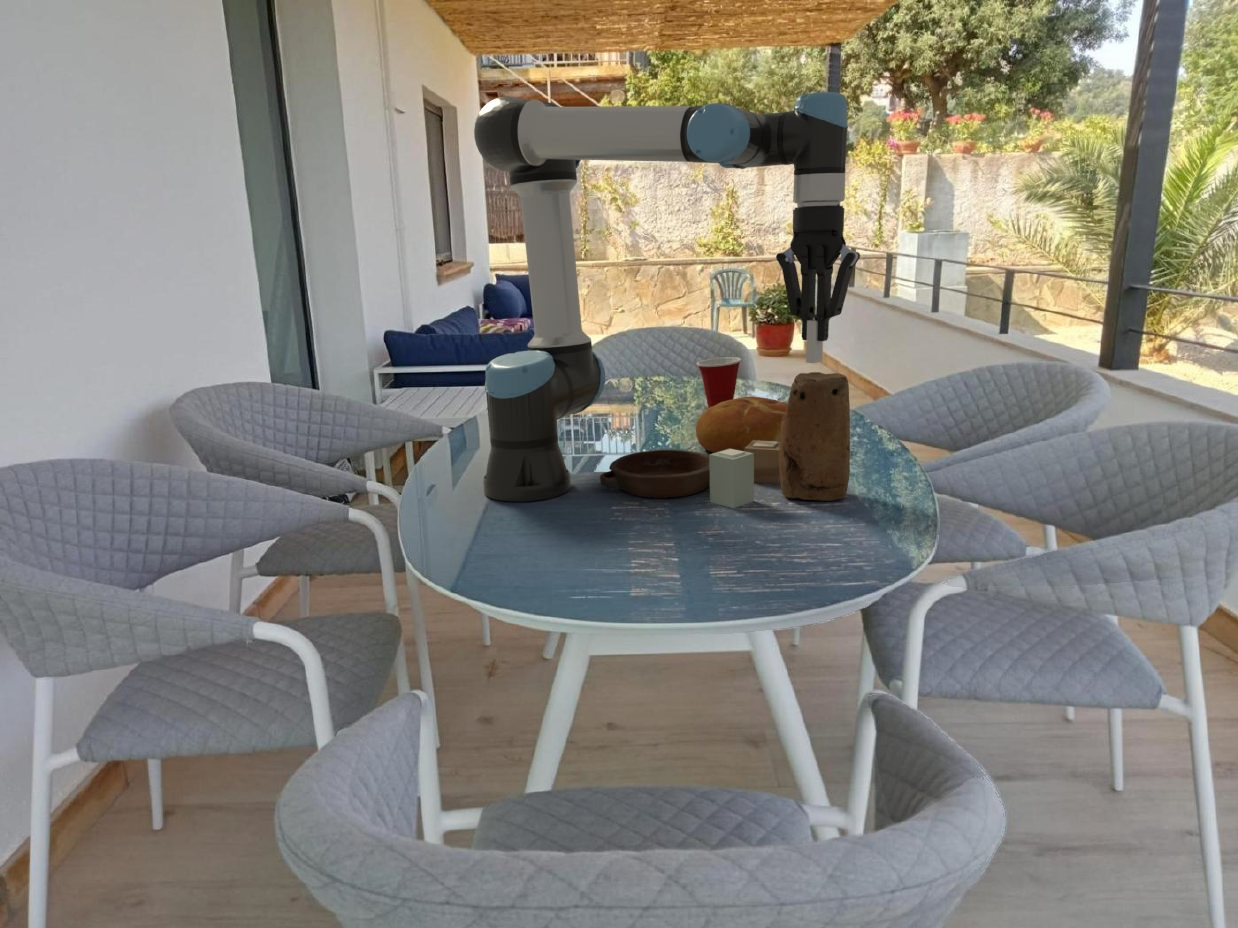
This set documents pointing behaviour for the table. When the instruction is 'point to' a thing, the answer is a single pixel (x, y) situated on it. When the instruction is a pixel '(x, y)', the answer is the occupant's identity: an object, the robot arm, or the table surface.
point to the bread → (740, 423)
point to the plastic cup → (719, 378)
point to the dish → (659, 473)
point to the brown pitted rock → (816, 438)
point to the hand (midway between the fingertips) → (814, 361)
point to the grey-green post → (731, 478)
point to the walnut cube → (765, 460)
